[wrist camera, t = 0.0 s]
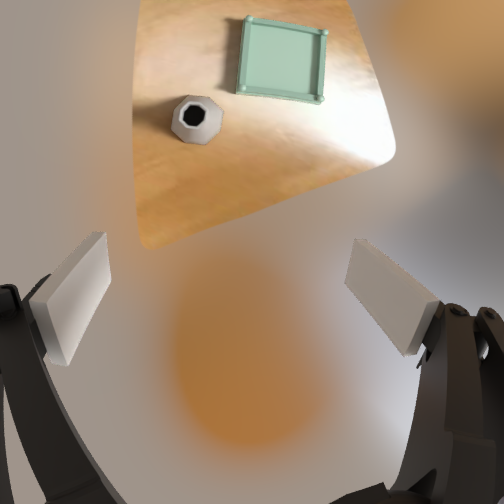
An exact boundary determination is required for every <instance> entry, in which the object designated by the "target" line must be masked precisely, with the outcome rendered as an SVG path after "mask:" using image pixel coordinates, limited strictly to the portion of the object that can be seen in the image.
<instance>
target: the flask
mask: <svg viewBox="0 0 504 504" xmlns="http://www.w3.org/2000/svg"><path fill="white" fill-rule="evenodd" d="M223 113H224V111H223V110H222V109H221V108H220V107H219V106H218V105H217V104H216V103H215V102H214V101H213V100H212V99H211V98H210V97H203V96H193V95H188V96H187V97H186V98H185V99H184V100H183V101H182V102H181V103H180V104H179V105H178V106H177V107H176V108H175V109H174V112H173V118H172V124H171V130H172V131H173V132H174V133H175V134H176V135H177V136H178V137H179V138H180V139H182V140H183V141H184V142H185V143H191V144H200V145H206V144H207V143H208V142H209V141H210V140H211V139H212V138H213V137H214V136H215V135H216V134H218V133H219V132H220V130H221V124H222V119H223Z"/></svg>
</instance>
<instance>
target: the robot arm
mask: <svg viewBox="0 0 504 504" xmlns="http://www.w3.org/2000/svg"><path fill="white" fill-rule="evenodd" d="M110 283H111V273H110V266H109V258H108V249H107V239H106V232H92V233H91V234H90V235H89V236H88V237H87V238H86V239H85V240H84V241H83V242H82V243H81V244H80V245H79V246H78V247H77V248H76V249H75V250H74V251H73V252H72V253H71V254H70V255H69V256H68V257H67V258H66V259H65V260H64V261H63V262H62V264H61V265H60V266H59V267H58V268H57V269H56V270H55V271H54V272H53V273H52V274H48V275H47V276H45V277H44V278H42V279H41V280H40V281H39V282H38V283H37V284H36V285H35V287H33V288H32V290H31V292H29V293H28V294H27V295H26V297H25V298H24V299H23V300H22V301H21V299H20V296H19V292H18V289H17V287H16V286H15V285H12V284H5V285H0V504H14V500H13V495H12V490H11V485H10V479H9V473H8V466H7V458H6V449H5V437H4V414H3V397H4V387H5V391H6V395H7V399H8V403H9V406H10V410H11V413H12V416H13V420H14V423H15V426H16V429H17V432H18V435H19V438H20V440H21V443H22V446H23V448H24V451H25V454H26V456H27V458H28V461H29V463H30V465H31V468H32V470H33V472H34V474H35V477H36V479H37V481H38V483H39V485H40V487H41V489H42V491H43V492H44V495H45V497H46V501H47V502H46V503H45V504H127V503H126V502H125V501H124V500H123V498H122V497H121V496H120V495H119V493H118V492H117V491H116V489H115V488H114V487H113V485H112V484H111V483H110V481H109V480H108V479H107V477H106V476H105V474H104V473H103V472H102V470H101V469H100V467H99V466H98V464H97V463H96V461H95V460H94V458H93V457H92V455H91V453H90V452H89V450H88V449H87V447H86V445H85V444H84V442H83V440H82V439H81V437H80V435H79V434H78V432H77V430H76V428H75V426H74V425H73V423H72V421H71V419H70V417H69V416H68V413H67V411H66V409H65V407H64V405H63V403H62V401H61V400H60V398H59V395H58V393H57V391H56V389H55V387H54V384H53V382H52V380H51V377H50V375H49V373H48V370H47V368H46V365H45V363H44V361H43V358H44V356H45V354H46V352H47V354H48V356H49V358H50V361H51V363H52V364H57V365H62V366H69V363H70V361H71V359H72V357H73V355H74V353H75V351H76V348H77V346H78V344H79V342H80V340H81V338H82V336H83V334H84V332H85V330H86V328H87V326H88V324H89V322H90V320H91V318H92V316H93V314H94V312H95V310H96V308H97V306H98V304H99V303H100V301H101V299H102V297H103V295H104V293H105V292H106V290H107V288H108V286H109V284H110ZM345 284H346V285H347V287H348V288H349V289H350V290H351V292H352V293H353V294H354V295H355V296H356V298H357V299H358V300H359V301H360V303H361V304H362V305H363V306H364V307H365V309H366V310H367V311H368V312H369V314H370V315H371V316H372V317H373V319H374V320H375V321H376V322H377V324H378V325H379V326H380V327H381V328H382V330H383V331H384V332H385V334H386V335H387V336H388V338H389V339H390V340H391V341H392V343H393V344H394V345H395V346H396V348H397V349H398V350H399V352H400V353H401V354H402V356H403V357H406V356H411V355H415V354H417V352H418V350H419V348H420V346H421V344H422V343H423V344H424V346H425V347H426V349H425V351H424V353H423V355H422V357H421V359H420V361H419V363H418V365H417V367H416V368H417V369H418V368H419V366H420V365H422V366H421V374H420V381H419V388H418V394H417V400H416V406H415V412H414V417H413V421H412V426H411V430H410V435H409V439H408V443H407V447H406V451H405V455H404V458H403V461H402V465H401V468H400V472H399V475H398V477H397V480H396V482H395V483H394V485H393V486H392V487H391V489H390V490H387V489H386V487H385V485H384V483H383V482H382V483H379V484H377V485H374V486H371V487H368V488H365V489H362V490H359V491H356V492H353V493H350V494H346V495H345V496H343V497H341V498H339V499H337V500H336V501H333V502H332V503H330V504H504V322H503V320H502V318H501V317H500V315H499V314H498V313H496V311H495V310H493V309H492V308H487V307H481V308H480V309H479V311H478V314H477V316H470V315H469V312H468V311H467V310H466V309H465V308H463V307H461V306H460V305H457V304H453V303H448V304H446V305H444V303H442V302H441V301H440V300H439V299H438V298H437V297H436V296H435V295H434V294H432V293H431V292H430V291H429V290H428V289H427V288H426V287H424V286H423V285H422V284H421V283H420V282H418V281H417V280H416V279H415V278H413V277H412V276H411V275H410V274H409V273H408V272H406V271H405V270H404V269H403V268H401V267H400V266H399V265H398V264H396V263H395V262H394V261H393V260H392V259H390V258H389V257H388V256H386V255H385V254H384V253H383V252H381V251H380V250H379V249H378V248H376V247H375V246H374V245H372V244H371V243H370V242H368V241H367V240H364V239H354V244H353V249H352V253H351V258H350V262H349V267H348V271H347V275H346V279H345ZM488 346H489V350H488V354H487V356H486V358H485V359H484V358H483V354H484V352H485V350H486V348H487V347H488Z"/></svg>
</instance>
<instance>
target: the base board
mask: <svg viewBox="0 0 504 504" xmlns="http://www.w3.org/2000/svg"><path fill="white" fill-rule="evenodd" d="M328 33H329V32H328V30H327V29H323V30H320V29H316V28H311V27H307V26H302V25H297V24H292V23H286V22H280V21H274V20H267V19H260V18H253V17H252V16H250V15H248V16H246V18H244V20H243V25H242V34H241V44H240V54H239V64H238V74H237V85H236V94H238V95H250V96H260V97H269V98H277V99H285V100H292V101H298V102H305V103H311V104H316V105H319V104H321V102H323V101H324V96H323V87H324V73H325V58H326V39H327V35H328Z"/></svg>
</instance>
